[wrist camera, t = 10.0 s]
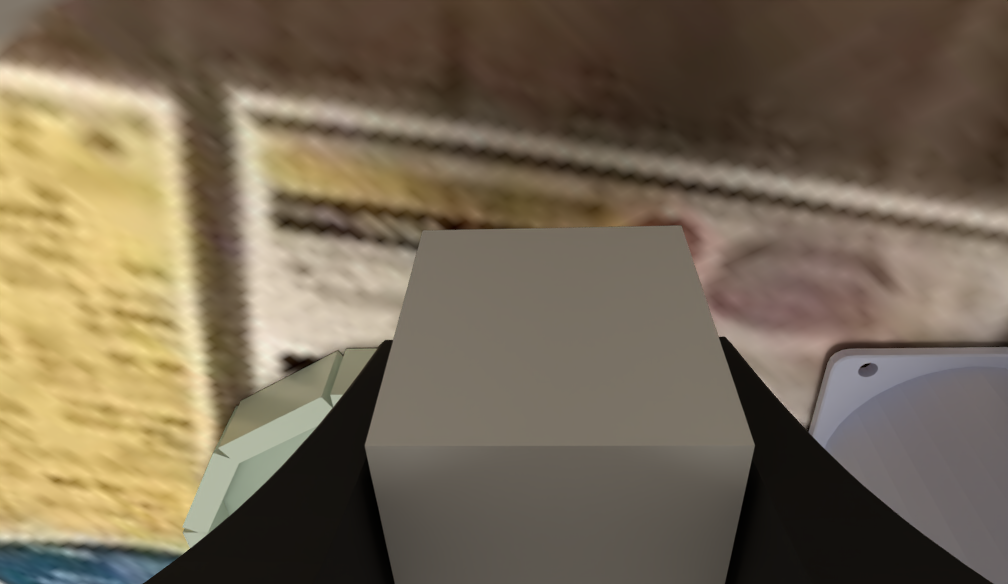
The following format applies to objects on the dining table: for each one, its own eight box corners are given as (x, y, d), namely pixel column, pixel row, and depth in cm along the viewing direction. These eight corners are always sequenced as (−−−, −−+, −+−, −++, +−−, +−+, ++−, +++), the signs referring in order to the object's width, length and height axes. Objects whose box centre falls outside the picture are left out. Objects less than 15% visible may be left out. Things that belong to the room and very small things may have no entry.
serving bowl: (686, 344, 21) (699, 392, 19) (648, 645, 30) (655, 695, 28) (149, 350, 22) (118, 396, 20) (271, 641, 31) (256, 688, 29)
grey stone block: (681, 225, 12) (754, 444, 8) (660, 414, 15) (708, 657, 10) (422, 230, 12) (364, 446, 8) (445, 416, 15) (410, 652, 11)
